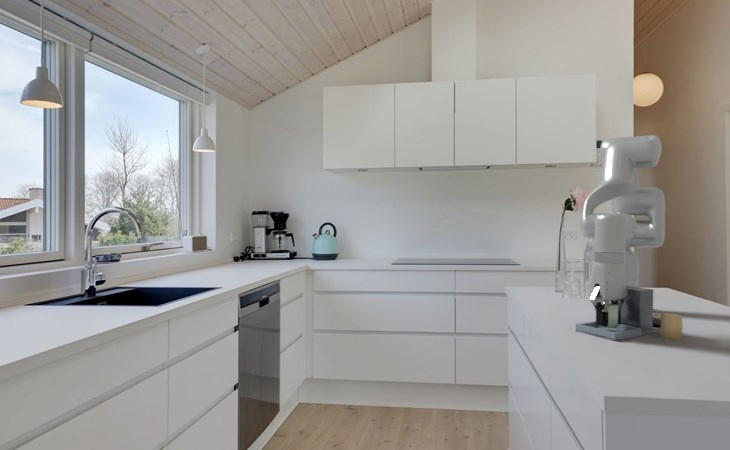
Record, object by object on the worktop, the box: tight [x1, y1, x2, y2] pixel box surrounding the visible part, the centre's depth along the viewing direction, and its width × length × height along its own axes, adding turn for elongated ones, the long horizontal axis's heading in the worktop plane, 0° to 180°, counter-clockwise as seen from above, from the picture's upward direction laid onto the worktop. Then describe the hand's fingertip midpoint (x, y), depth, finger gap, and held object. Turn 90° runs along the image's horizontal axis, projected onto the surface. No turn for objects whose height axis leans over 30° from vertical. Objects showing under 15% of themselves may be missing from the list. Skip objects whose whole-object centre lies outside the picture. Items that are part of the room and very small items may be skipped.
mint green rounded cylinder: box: [599, 303, 619, 328], centre depth 126 cm, size 5×5×6 cm
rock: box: [653, 308, 662, 327], centre depth 139 cm, size 11×11×4 cm
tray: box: [575, 320, 642, 342], centre depth 126 cm, size 12×12×2 cm
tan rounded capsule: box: [659, 312, 683, 341], centre depth 123 cm, size 5×5×6 cm
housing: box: [600, 286, 657, 335], centre depth 133 cm, size 8×14×12 cm, turn 28°
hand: (608, 323), depth 127 cm, fingers closed on mint green rounded cylinder, 4 cm apart
